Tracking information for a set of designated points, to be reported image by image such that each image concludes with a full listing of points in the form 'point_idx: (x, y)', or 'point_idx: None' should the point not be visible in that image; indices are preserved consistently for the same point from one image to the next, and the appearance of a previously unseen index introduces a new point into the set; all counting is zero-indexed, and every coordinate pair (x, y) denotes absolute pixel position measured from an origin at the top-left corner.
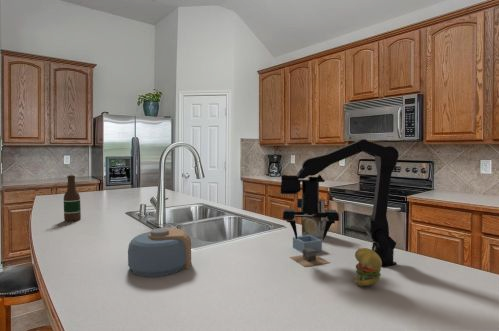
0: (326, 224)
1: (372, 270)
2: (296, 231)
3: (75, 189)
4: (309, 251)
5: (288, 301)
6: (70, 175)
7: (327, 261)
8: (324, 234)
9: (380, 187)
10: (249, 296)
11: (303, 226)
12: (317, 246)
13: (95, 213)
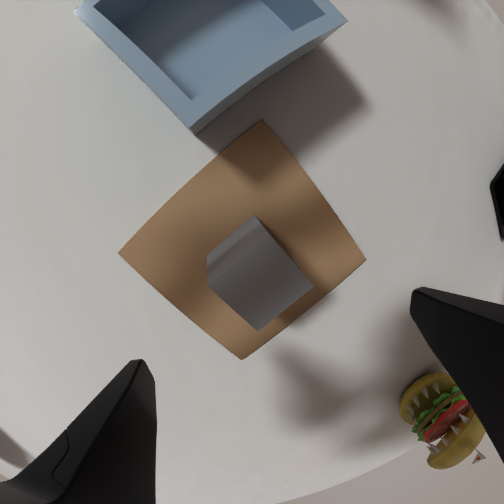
0: (501, 449)
1: (442, 433)
2: (154, 475)
3: None
4: (266, 322)
5: (237, 489)
6: None
7: (355, 249)
8: (447, 360)
9: None
10: (158, 491)
11: None
12: (298, 54)
13: None
